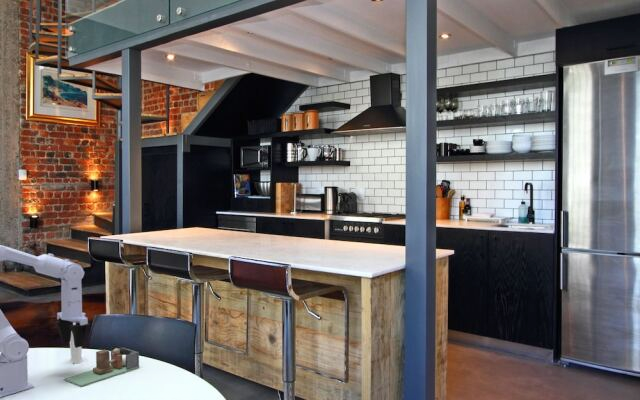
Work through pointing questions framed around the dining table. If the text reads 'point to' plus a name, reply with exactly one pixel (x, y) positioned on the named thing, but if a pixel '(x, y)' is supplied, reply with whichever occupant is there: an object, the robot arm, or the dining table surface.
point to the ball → (123, 360)
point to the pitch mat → (95, 376)
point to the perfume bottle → (75, 351)
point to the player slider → (107, 361)
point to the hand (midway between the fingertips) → (72, 344)
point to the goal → (130, 358)
